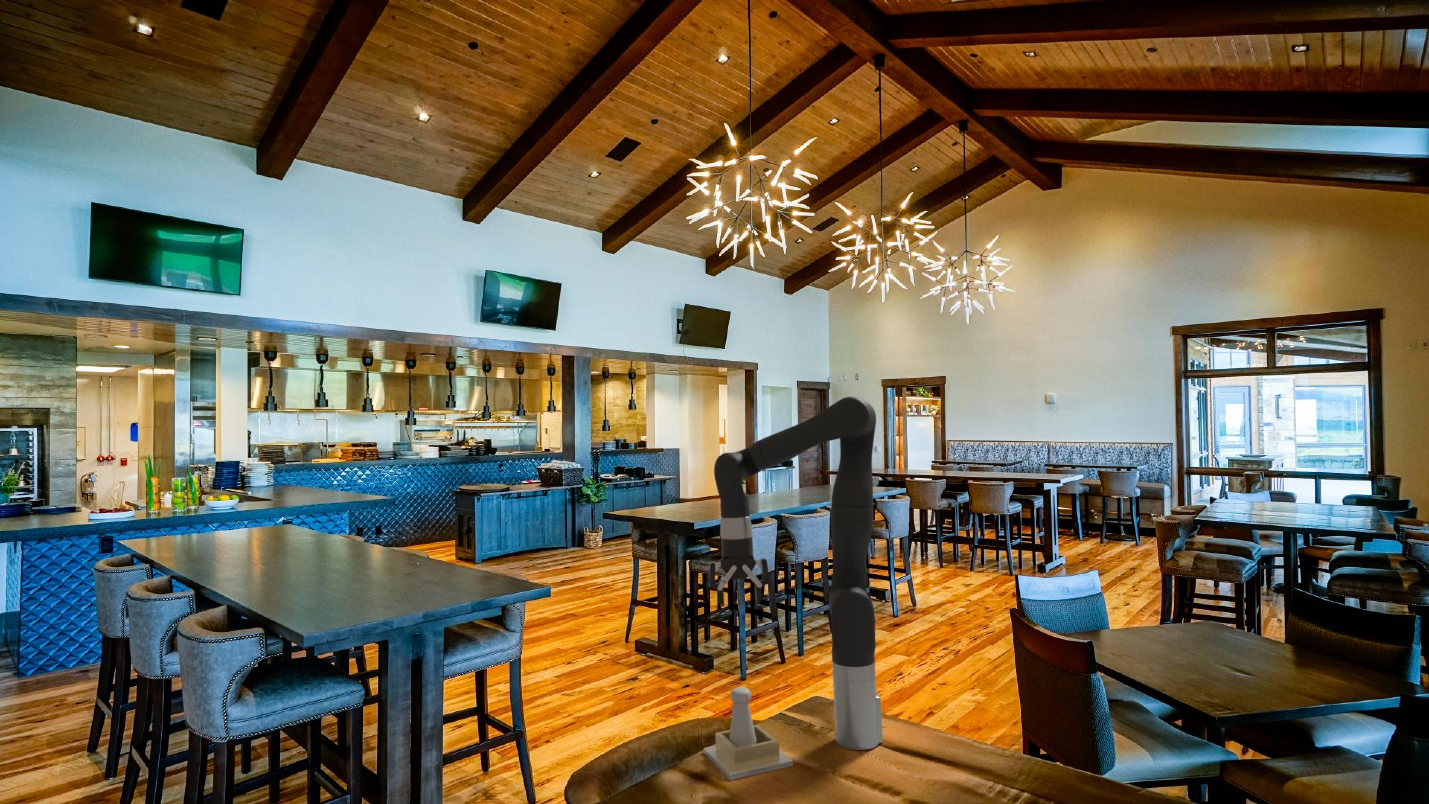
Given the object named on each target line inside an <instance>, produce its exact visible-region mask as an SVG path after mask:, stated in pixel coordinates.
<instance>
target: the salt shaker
mask: <svg viewBox="0 0 1429 804" xmlns="http://www.w3.org/2000/svg"><path fill="white" fill-rule="evenodd" d="M751 699H752V692H751V690H750V689H749V688H747V687H744V686H743V687H742V686H739V687H735V688H733V689H732V690H731V691H730V700H731V701H732V702H733V705H732V712H731V719H730V727H729V728H730V729H729V730H730V734H729V741H730V742H731V743H732V744H733V745H734V746H735V747H736V748H738V747H743V746H748V745H753V744H756V736H755V731H754V727H753V725H754V722H753V719H752V714H751V710H750V704H749V702H750V701H751Z"/></svg>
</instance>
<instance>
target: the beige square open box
mask: <svg viewBox="0 0 1429 804" xmlns="http://www.w3.org/2000/svg"><path fill="white" fill-rule="evenodd" d="M753 727H754V731H755V736H756V744H753V745H748V746H743V747H738V748H736V747H735V746H734V745H733V744H732V743H731V742H730V741H729V734H730V729H728V730H723V731H718V732H715V734H714V735H715V745H712V746H707V747H704V748H703V753H704V752H705V753H704V754H706V755H707V756H706V755H705V756H706V757H707V758H708V759H709V760H710V761H711V762H712V763H713V764H714V765H715V766H716V767H717V769H718V770H719V771H720V772H722V774H723V775H724V776H725V777H726V779H728V780H729V781H734V780H737V779H742V778H745V777H746V776H747V777H751V776H755V775H760V774H764V773H767V772H772V771H777V770H782V769H786V768H790V767H789V766H791V767H794V760H792V759H791V758H790V757H789V756H788V755H787V754H785V753H784V752H783V751H782V750H781V749H780V740H778V739H777V738H775V737H774V735H772V734H770V733H769V732H768V731H767V730H766V729H764V728H763V727H761V726H760V725H759V724H753ZM750 775H751V776H750Z"/></svg>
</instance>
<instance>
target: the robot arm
mask: <svg viewBox="0 0 1429 804" xmlns="http://www.w3.org/2000/svg"><path fill="white" fill-rule="evenodd" d="M876 426H877V414H876V412H875V409H874V407H873V406H872V405H871V403H869V402H868V401H867V400H864V399H862V398H860V397H858V396H857V397H856V396H846V397H842V398H841V399H839V400H838V401H836V402H835V403H833V404H831V405H830V406H828V407H827V408H825V409H823V410H822V411H820V412H819V413H817V414H815V415H813V416H812V417H810V418H808V419H806V420H804V421H801V422H800V423H797V424H795V425H792V426H790V427H788V428H785V429H783V430H780V431H778V432H775V433H773V434H771V435H768V436H765V437H764V438H760V439H759V440H757V441H755V442H753V443H752V444H751V445H750V446H748V447H746V448H743V449H741V450H738V451H735V452H724V453H722V454H719V456H717V458H716V460H715V461H714V467H713V474H714V480H715V484H716V489H717V493H718V496H719V500H720V505H719V506H720V533H719V535H720V544H721V561H720V562H719V561H717V562H716V561H715V562H714V561H709V564H708V586H709V588H710V589H714V590H716V597H717V599H716V600H717V603H718V605H720V607H725V594H724V588H725V586H726V584H727V583H729V581H730V579H731V580H733V581H734V580H738V579H741V580H745V579H746V580H747V578H749V579H750V580H751V581H752V582H753V583H754V584H755V586H754V596H755V597H754V598H755V603H756V605H760V604H761V602H762V601H763V587H764V586H766V585H769V584H770V577H769V568H768V567H769V566H768V561H767V559H766V558H765V557H761V558H759V559H755V558H754V545H753V527H752V525H753V524H752V521H751V507H750V497H749V495H748V493H747V492H745V491H744V485H743V480H746V479H747V478H750V477H752V476H755V475H757V474H758V473H760V472H762V471H764V470H767V469H771V468H773V467H775V466H778V465H781V464H783V463H785V462H787V461H790V460H792V459H794V458H796V457H797V456H799V455H801V454H803V453H804V452H806V451H808V450H810V449H811V448H814V447H817V446H818V445H821V444H824V443H827V442H830V441H834V440H838V439H839V447H840V451H839V453H840V454H839V455H840V456H839V463H838V469H837V473H836V475H835V480H834V484H833V488H832V493H831V494H832V495H831V504H830V505H831V511H830V513H831V514H830V515H831V518H830V524H831V525H830V527H831V528H830V529H831V546H832V554H833V555H832V558H833V560H832V561H833V563H832V564H833V565H832V573H831V574H832V576H831V584H830V591H829V598H828V609H829V613H830V615H831V616H830V618H831V635H832V636H831V637H832V639H831V640H832V644H831V663H832V683H833V685H832V687H833V707H834V708H833V709H834V710H833V711H834V728H835V730H834V731H835V742H836V744H837V745H839V746H840V747H843V748H845V749H848V750H854V751H855V750H856V751H863V750H864V751H865V750H870V749H873V748H876V747H877V746H879V744H881V743H883V742H884V741H883V739H884V738H883V737H884V736H883V721H882V720H883V718H882V703H881V701H882V699H881V697H880V696H879V695H877V679H876V678H877V676H876V663H875V662H876V659H875V655H876V653H875V652H876V646H877V645H876V620H875V619H876V618H875V608H874V604H873V602H872V600H871V598H870V597H869V595H868V588H867V586H868V585H867V572H866V571H867V568H866V567H867V566H866V565H867V557H868V553H869V548H870V543H871V538H872V532H873V525H874V523H873V522H874V483H873V482H874V480H873V479H874V478H873V477H874V476H873V450H874V440H875V433H876ZM756 565H757V567H758V568H759V569H760V570H761V578H762V579H759V578H758V577H757V576H756V575H755V573H753V570H754V569H755V567H756ZM719 568H721V569H722V571H724V572H723V574H722V575H721V577H720V579H719V581H718V582H716V572H718V571H719Z"/></svg>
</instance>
